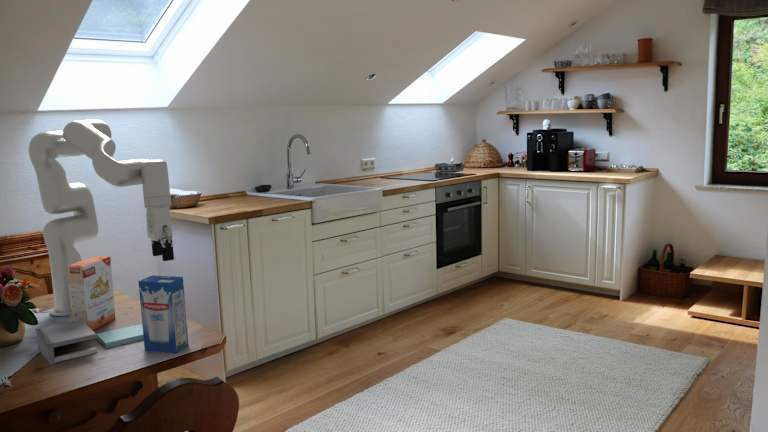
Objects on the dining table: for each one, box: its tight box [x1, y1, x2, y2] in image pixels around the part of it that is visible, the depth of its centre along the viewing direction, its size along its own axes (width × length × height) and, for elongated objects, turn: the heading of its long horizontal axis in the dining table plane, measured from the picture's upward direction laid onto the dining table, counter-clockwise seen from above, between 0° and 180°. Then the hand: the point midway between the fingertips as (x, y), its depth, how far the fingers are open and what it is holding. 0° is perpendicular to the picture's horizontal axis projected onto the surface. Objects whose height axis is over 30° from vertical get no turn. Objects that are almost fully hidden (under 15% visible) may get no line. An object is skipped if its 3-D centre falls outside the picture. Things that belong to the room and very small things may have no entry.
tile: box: [95, 323, 144, 349], centre depth 194 cm, size 10×16×2 cm, turn 128°
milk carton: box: [138, 275, 189, 354], centre depth 182 cm, size 10×6×20 cm, turn 75°
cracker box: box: [67, 255, 116, 332], centre depth 203 cm, size 14×6×21 cm, turn 168°
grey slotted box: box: [35, 320, 98, 365], centre depth 183 cm, size 16×12×6 cm
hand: (163, 257), depth 198 cm, fingers open, 9 cm apart
